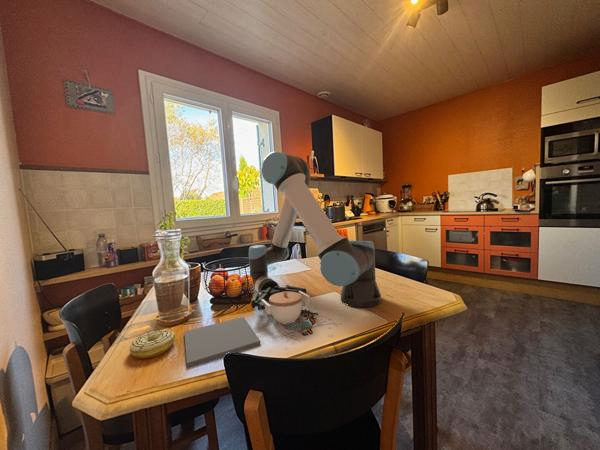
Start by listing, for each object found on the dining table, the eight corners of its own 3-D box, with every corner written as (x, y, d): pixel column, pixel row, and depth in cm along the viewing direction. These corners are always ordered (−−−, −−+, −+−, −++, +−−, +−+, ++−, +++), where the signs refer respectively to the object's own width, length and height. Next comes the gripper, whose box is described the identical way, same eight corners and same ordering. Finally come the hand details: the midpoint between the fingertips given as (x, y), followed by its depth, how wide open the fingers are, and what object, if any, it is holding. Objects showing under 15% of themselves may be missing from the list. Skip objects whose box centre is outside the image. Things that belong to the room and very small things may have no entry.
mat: (243, 319, 81) (243, 316, 81) (260, 344, 65) (260, 340, 65) (184, 334, 73) (184, 331, 73) (187, 367, 57) (186, 363, 57)
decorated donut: (168, 335, 73) (167, 323, 73) (180, 348, 66) (179, 334, 66) (127, 350, 66) (125, 337, 66) (135, 367, 58) (134, 351, 58)
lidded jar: (299, 328, 73) (297, 298, 72) (265, 327, 75) (263, 297, 74) (305, 313, 83) (304, 286, 83) (276, 312, 85) (274, 286, 85)
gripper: (296, 291, 101) (323, 307, 82) (235, 304, 89) (252, 327, 70) (295, 273, 100) (322, 285, 81) (234, 284, 89) (250, 302, 70)
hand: (290, 305), depth 76 cm, fingers open, 13 cm apart
